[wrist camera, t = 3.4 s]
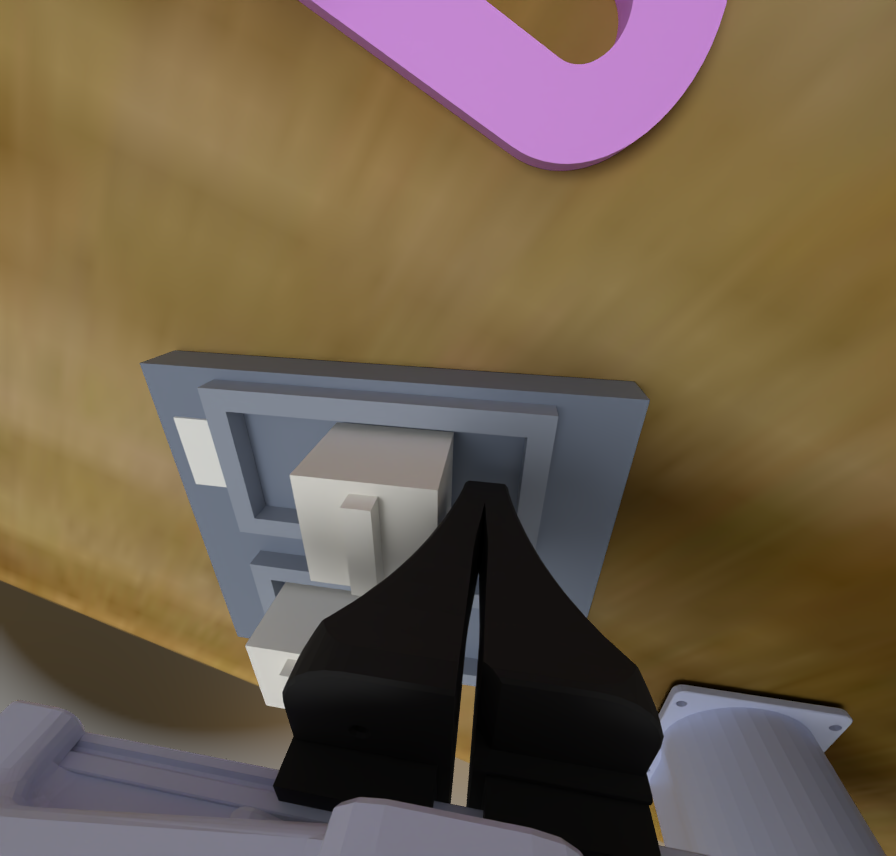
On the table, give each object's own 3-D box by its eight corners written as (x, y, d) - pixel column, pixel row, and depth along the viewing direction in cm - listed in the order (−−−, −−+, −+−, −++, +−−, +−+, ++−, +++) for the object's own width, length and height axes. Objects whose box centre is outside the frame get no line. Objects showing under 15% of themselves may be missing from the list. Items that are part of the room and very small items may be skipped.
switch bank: (562, 655, 20) (569, 706, 18) (255, 610, 22) (228, 650, 20) (634, 381, 13) (658, 411, 11) (174, 350, 15) (119, 370, 13)
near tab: (450, 526, 14) (432, 615, 11) (348, 514, 15) (301, 596, 12) (453, 432, 13) (433, 505, 9) (336, 422, 13) (277, 488, 10)
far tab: (381, 646, 18) (352, 738, 15) (302, 634, 19) (258, 721, 16) (376, 588, 17) (342, 679, 13) (288, 577, 17) (234, 661, 14)
